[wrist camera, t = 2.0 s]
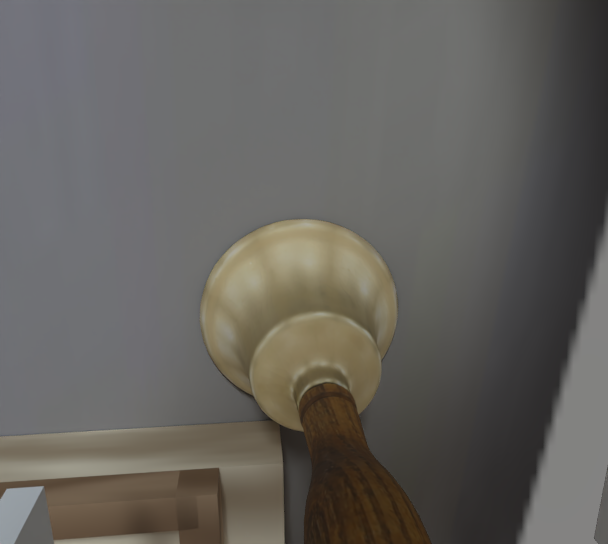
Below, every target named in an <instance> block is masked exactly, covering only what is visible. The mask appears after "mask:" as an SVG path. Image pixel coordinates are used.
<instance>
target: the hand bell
mask: <svg viewBox="0 0 608 544" xmlns="http://www.w3.org/2000/svg"><path fill="white" fill-rule="evenodd" d="M397 317H398V299H397V293H396V287H395V284H394V281H393V278H392V275H391V273H390V271H389V269H388V267H387V265H386V263H385V262H384V260H383V259H382V257H381V256H380V255H379V253H378V252H377V251H376V250H375V249H374V248H373V247H372V246H371V245H370V244H369V243H368V242H367V241H366V240H364V239H363V238H361V237H360V236H358V235H357V234H355V233H354V232H352V231H350V230H348V229H346V228H344V227H342V226H339V225H336V224H333V223H330V222H325V221H320V220H311V219H294V220H284V221H280V222H275V223H272V224H269V225H266V226H264V227H261V228H259V229H257V230H255V231H253V232H251V233H249V234H248V235H246V236H244V237H243V238H241V239H240V240H239V241H237V242H236V243H235V244H234V245H232V246H231V247H230V248H229V249H228V250H227V251H226V252H225V253H224V255H223V256H222V257H221V258H220V259H219V260H218V262H217V263H216V265H215V266H214V268H213V269H212V271H211V273H210V275H209V278H208V280H207V282H206V285H205V288H204V291H203V295H202V300H201V305H200V325H201V332H202V336H203V341H204V344H205V346H206V348H207V351H208V353H209V355H210V357H211V359H212V360H213V362H214V363H215V365H216V366H217V368H218V369H219V370H220V371H221V373H222V374H223V375H224V376H225V377H226V378H227V379H228V380H230V381H231V382H232V383H233V384H234V385H236V386H237V387H239V388H240V389H242V390H243V391H245V392H247V393H248V394H250V395H252V396H254V398H255V400H256V401H257V403H258V405H259V406H260V408H261V409H262V410H263V411H264V412H265V413H266V414H267V415H268V416H269V417H270V418H271V419H272V420H274V421H275V422H277V423H279V424H280V425H282V426H284V427H287V428H290V429H293V430H297V431H302V432H304V434H305V438H306V442H307V445H308V449H309V452H310V456H311V461H312V478H311V484H310V488H309V492H308V496H307V500H306V508H305V518H304V544H432V543H431V541H430V539H429V536H428V534H427V532H426V530H425V528H424V525H423V523H422V521H421V519H420V517H419V515H418V513H417V512H416V510H415V508H414V506H413V505H412V503H411V501H410V500H409V498H408V496H407V495H406V493H405V492H404V490H403V489H402V488H401V486H400V485H399V484H398V483H397V482H396V480H395V479H394V478H393V477H392V475H391V474H390V473H389V472H388V471H387V470H386V469H385V468H384V467H383V466H382V465H381V464H380V463H379V462H378V461H377V460H376V459H375V457H374V456H373V455H372V453H371V451H370V450H369V447H368V445H367V442H366V439H365V435H364V432H363V429H362V425H361V422H360V418H359V414H360V413H361V412H362V411H363V410H364V409H365V408H366V407H367V406H368V405H369V403H370V402H371V400H372V399H373V397H374V395H375V393H376V391H377V389H378V386H379V383H380V378H381V360H382V359H383V357H384V356H385V354H386V352H387V350H388V348H389V346H390V344H391V341H392V339H393V336H394V332H395V328H396V324H397Z"/></svg>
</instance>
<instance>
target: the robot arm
mask: <svg viewBox="0 0 608 544" xmlns="http://www.w3.org/2000/svg"><path fill="white" fill-rule="evenodd" d="M594 539H595V540H596V541H597V543H598V544H608V468H607V473H606V478H605V483H604V488H603V493H602V499H601V504H600V509H599V514H598V520H597V525H596V530H595V536H594ZM0 544H54V540H53V535H52V529H51V523H50V518H49V512H48V507H47V501H46V495H45V490H44V486H39V487H24V488H10V489H7V490H6V491H5V493H4V494H3V496H2V498H1V499H0Z"/></svg>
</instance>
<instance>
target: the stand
mask: <svg viewBox="0 0 608 544" xmlns="http://www.w3.org/2000/svg"><path fill="white" fill-rule="evenodd" d="M39 486H44V490H45V495H46V501H47V507H48V512H49V518H50V523H51V529H52V535H53V540H54V544H285V536H284V483H283V457H282V447H281V437H280V426H279V423H277V422H275V421H274V420H268V421H251V422H235V423H218V424H201V425H185V426H168V427H152V428H135V429H118V430H102V431H85V432H69V433H52V434H35V435H19V436H2V437H0V499H1V498H2V496H3V494H4V493H5V491H6V490H7V489H10V488H24V487H39Z"/></svg>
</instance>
